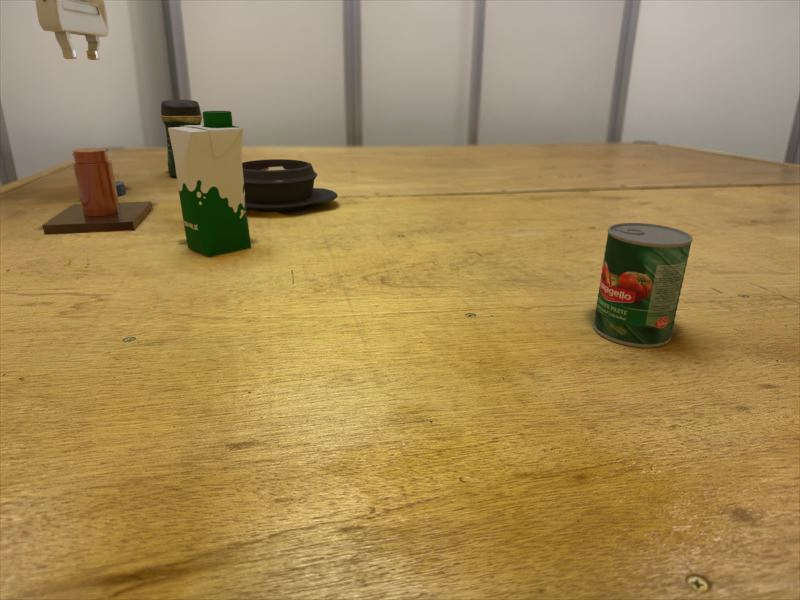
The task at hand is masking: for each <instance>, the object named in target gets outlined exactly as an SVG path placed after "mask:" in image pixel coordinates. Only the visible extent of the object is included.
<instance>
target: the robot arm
mask: <svg viewBox="0 0 800 600" xmlns="http://www.w3.org/2000/svg"><path fill="white" fill-rule="evenodd" d="M105 3H106V2H105V0H35V7H36V8H35V9H36V15H37V21H38V23H39V25H40V27H41V29H42V30H43V32H44V31H45V32H50V33H51V32H52V33H54V36H55V40H56V42H57V44H58V46H59V47H60V49H61V51H62V56H63V57H62V58H64V59H65V60H77V51H76V49H75V48H73V45H72V42H71V39H72V38H71V35H76V36H84V37H85V42H87V50H86V57H87V60H89V61H99V60H100V53H99V51H100V44H101V43H100V42H101V41H100V38H106V37H108V35H109V22H108V13H107V8H106V4H105Z"/></svg>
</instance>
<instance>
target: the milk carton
mask: <svg viewBox="0 0 800 600" xmlns="http://www.w3.org/2000/svg"><path fill="white" fill-rule="evenodd" d="M232 115H233V114H232V111H230V110H206V111H202V120H203V121H202V122H203V124H201V125H186V126H184V127H172V128H168V131H169V136H170V140H171V145H172V150H173V155H174V161H175V168H176V174H177V177H176V180H177V181H176V182H177V187H178V195H179V201H180V209H181V214H182V223H183V228H184V234H185V238H186V239H185V241H186V246H187V248H189V249H191V250H193V251H195V252H197V253H199V254H201V255H203V256H205V257H207V258H212V257H215V256H221V255H226V254H231V253H235V252H239V251H245V250H249V249H251V248H252V244H251V243H252V242H251V236H250V228H249V220H248V219H249V218H248V209H247V208H246V199H245V189H244V179H243V168H242V163H243V158H242V154H243V152H242V151H243V138H244V129H243V127H239V126H235V125H233V116H232Z"/></svg>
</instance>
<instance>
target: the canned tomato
mask: <svg viewBox="0 0 800 600" xmlns="http://www.w3.org/2000/svg"><path fill="white" fill-rule="evenodd" d="M693 240H694V238H693V236H692V235H691V234H690V233H689V232H686V231H684V230H682V229H679V228H675V227H672V226H667V225H662V224H656V223H647V222H619V223H615V224H611V225H610V226H609V227H608V229H607V238H606V242H605V250H604V255H603V256H604V257H603V261H602V267H601V272H600V273H601V274H600V281H599V286H598V294H597V300H596V307H595V314H594V319H593V323H592V327H593V329H594V330H595V332H596V333H597V334H598V335H599V336H601V337H603V338H604V339H606V340H608V341H611V342H614V343H616V344H619V345H623V346H627V347H633V348H642V349H644V348H645V349H648V348H649V349H651V348H658V347H659V348H660V347H662V346H665V345H667V344H668V343H670V342H671V339H672V333H673V329H674V325H675V319H676V316H677V310H678V306H679V302H680V296H681V294H682V293H681V292H682V288H683V283H684V279H685V274H686V269H687V266H688V259H689V257H690V251H691V246H692V242H693Z"/></svg>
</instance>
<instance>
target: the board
mask: <svg viewBox="0 0 800 600" xmlns="http://www.w3.org/2000/svg"><path fill="white" fill-rule="evenodd" d="M119 206H120V212H119V213H116V214H113V215H107V216H85V215H84V214H83V210H82V206H81V203H73V204H71V205H70V206H69V207H67V208H66V209H64V210H63V211H61V212H59V213H58V214H57V215H55V216H54V217H52V218H51V219H50V220H49V219H48V221H46V222H45V223H43V224H42V225H41V226H42V230H43V234H44V235H51V234H52V235H53V234H54V235H55V234H74V233H79V234H80V233H102V232H121V231H122V232H123V231H124V232H125V231H126V232H127V231H135V230H136V229H137V228H138V227H139V226H140V224H141V223H142V222H143V221H144V220H145V219H146V217H147V216H148V215H149V214H150V213H151V212H152V210H153V202H152V201H149V200H148V201H123V202H121V201H120V202H119Z"/></svg>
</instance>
